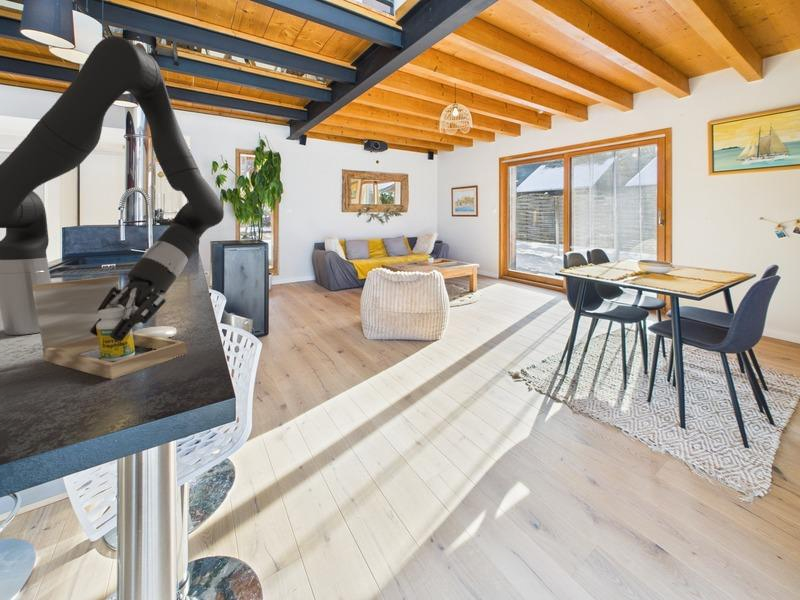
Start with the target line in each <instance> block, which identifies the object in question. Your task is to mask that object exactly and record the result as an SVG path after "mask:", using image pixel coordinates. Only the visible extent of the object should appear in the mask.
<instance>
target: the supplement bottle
mask: <svg viewBox="0 0 800 600" xmlns="http://www.w3.org/2000/svg"><path fill="white" fill-rule="evenodd" d="M98 313H99V317H100V319H101V321H99V322H98V323H97V325H96V330H97V336H98V342H99V348H98V349H99V354H100V359H101V360H105V361H109V362H116V361H120V360H123V359H126V358H130V357H133V356H135V354H136V351H135V350H136V349H135V345H134V341H133V334H132V332H133V330H132V329H133V328H132V329H131V330H130V331H129V333H128V334H127V335H126V337H125V338H124V339H123V340H122V341H117V340H115V339H113V338H111V337H110V334H111V332H112V331H113V330H114V328H115V327H116V326H117V325H118V323H119V322H120V321H121V319H124V316H125V309H124V308H108V309H103V310H100V311H98ZM124 320H125V319H124Z"/></svg>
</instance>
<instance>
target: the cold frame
mask: <svg viewBox="0 0 800 600" xmlns="http://www.w3.org/2000/svg"><path fill="white" fill-rule="evenodd" d="M31 286H32V291H33V295H34V301H35V306H36V312H37V318H38V323H39V329H40V332H39V334H40V340H41V343H42V345H41V346H42V354H43V358H44V362H47V363H51V364H53V365H59V366H61V367H66V368H69V369H73V370H76V371H80V372H83V373H87V374H90V375H94V376H98V377H103V378H105V379H109V380H115V379H118V378H121V377H123V376H126V375H129V374H132V373H135V372H138V371H142V370H144V369H147V368H150V367H153V366H156V365H159V364H162V363H164V362H167V361H171V360H173V358H174V359H177V358H179V357H182V356H185V355H187V354H188V350H187V342H186V341H181V340H176V339H172V338H169V339H167V338H162V337H156V336H151V335H146V334H141V333H136V332H133V331H132V334H133V341H134V346H135V347H136V346H137V347H140V348H146V349H150V348H152V349H151V350H150V351H147V352H143V353H140V354H136V355H134V356H132V357H130V358H126V359H123V360H120V361H112V362H109V361H105V360H102V359H101V358H100V359H99V358H96V357H92V356H88V355H84V354H83V353H86V352H90V351H94V350H98V349H99V342H98V336H95V335H94V334H92V333H90V330H91V328H92V327H93V326H94V325H95V324H96V322H97V321H98V320H99V319H100V317H99V313H98V308H99V307H100V305H101V304H102V302H103V301H104V299H105V298H106V296H107V295H108V293H109V292H110V290H111V289H112V288H113V287H116V288H118V289H120V288H119V278H118V276H116V275H115V276H105V277H104V276H103V277H95V278H93V277H92V278H85V279H77V280H68V281H58V282H56V281H55V282H51V283H47V284H38V285H31ZM108 306H109V304H108V305H107V307H108ZM120 306H121V307H122V305H121V304H120ZM107 307H106V308H107ZM154 349H156V350H154ZM184 354H185V355H184ZM181 355H182V356H181ZM178 356H179V357H178ZM176 357H177V358H176Z"/></svg>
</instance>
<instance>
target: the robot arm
mask: <svg viewBox="0 0 800 600" xmlns="http://www.w3.org/2000/svg"><path fill="white" fill-rule="evenodd" d="M126 92H128V93H130V94H131V95H132V97H133V99H135V101H136V102H137V104H138V106H139V107H140V109H141V110H142V112H143V114H144V117H145V118H146V121H147V124H148V126H149V131H150V132H149V133H150V138H151V144H152V147H153V148H152V149H153V151H154V155H155V157H156V160H157V162H158V164H159V166H160V168H161V170H162V173H163V174H164V177H166V180H167V183H168V184H169V186H170V187H171V188H172V189H173V190H174V191H177V192H182V194H183V195H184V197H185V198H186V199H187V203H185V204H184V205H183V206H182V207H181V208H180V209H179V211H178V212H177V213H176V215H175V216H174V218H173V220H172V222H171V223H170V224H169V227H167V228H166V229H165V231H164V232H163V233H162V234H161V236H159V238H158V239H157V240H156V241H155V242H154V243H153V244H152V245H151V246H150V247H148V249H147V250H146V251H145V252H144V254H143V255H142V256H141V257H140V258H139V259H138V260H137V262H136V263H135V264H134V265H133V267H132V268H131V269H130V270H129V271H128V273H127V277H128V279H129V282H128V283H127V284H126V285H125V286H124V287H123V288H121V289H120V288H119V289H118V288H116V287H113V288H112V289H111V290H110V292H109V293H108V295H107V296H106V298H105V299H104V301H103V302H102V304H101V305H100V307H99V308H98V311H100V310H103V309H108V308H124V309H125V316H124V319H125V320H124V319H121V321H120V322H119V323H118V325H117V326H116V327H115V328H114V330H113V331H112V332H111V334H110V337H111V338H113V339H115V340H117V341H122V340H123V339H124V338H125V337H126V335H127V334H128V333H129V331H130V330H131V329H133V327H134V326H138V325H139V324H140V323H141V324H143V325H144V324H146V323H147V322H148V321H149V320H150V319H151V318H152V317H153V316H154V315H155V314H156V312H158V310H160V309H161V307H162V306H163V305H165V303H166V301H167V300H166V298H164V297H163V296H162V295H166V293H167V292H168V290H169V289H170V288H171V286H172V285H173V284H174V283H175V281H176V280H177V278H178V277H179V276H180V274H181V273H182V272H183V270H184V268H186V267H185V266H186V265H187V263H188V262H189V260H190V258H192V257H193V255H194V253H195V252H196V251H197V250H198V248H199V246H200V238H201V237H202V236H203V234H204V233H205V232H206V231H208V229H210V228H213V227H215V226H217V225H218V224H220V223H221V222H222V221H223V219H224V215H225V211H224V205H223V203H222V201H221V199H220V197H218V195H217V194H216V192H215V191H214V189H213V188H212V187H211V186H210V184H209V183H208V182H207V180H206V179H205V178H204V177H203V176H202V173H201V172H200V169H199V167H198V165H197V163H196V161H195V158H194V156H193V154H192V152H191V151H190V148H189V146H188V144H187V142H186V139H185V137H184V135H183V132H182V130H181V127H180V125H179V123H178V119H177V117H176V115H175V112H174V108H173V106H172V102H171V100H170V96H169V94H168V90H167V87H166V83H165V80H164V76H163V74H162V71H161V68H160V66H159V63H158V62H157V61H156V60H155V58H154V57H153V56H151V54H149V53H148V52H147V51H145V50H144V49H143V48H141V47H139V46H137V45H136V44H134V43H133V42H131V41H129V40H128V39H126V38H124V37H121V36H114V35H113V36H107V37H105V38H102V40H100V41H99V42H98V43H97V44H95V47H94V48H93V49H92V51H91V52H90V54H89V55H88V57H87V58H86V60H85V62H84V63H83V65H82V66H81V68H80V69H79V71H78V73H77V75H76V76H75V78H74V79H73V80H72V82H71V83H70V84H69V85H68V87H67V88H66V89H65V90H64V91H63V92H62V94H61V95H60V96H59V98H58V99H57V100H56V101H55V103H54V104H53V105H52V106H51V108H50V109H48V111H46V112H45V114H43V116H42V117H41V118H40V119H39V120H38V121H37V123H36V124H35V125H34V126H33V127H32V128H31V130H30V131H29V133H28V134H27V135H26V136H25V137H24V139H23V140H22V141H21V142H20V143H19V144H18V145H17V147H15V149H13V151H12V152H11V153H10V154H9V155H8V157H6V159H4V160H3V162H1V164H0V229H5V236H4V237H3V238H2V239H1V240H0V316H1V320H2V321H1V322H2V326H3V327H2V328H3V332H4V334H5V335H10V336H12V335H13V336H14V335H15V336H20V335H21V336H22V335H30V334H32V335H33V334H37V333H38V334H39V333H40V329H39V323H38V318H37V312H36V306H35V301H34V295H33V291H32V286H31V285H38V284H47V283H52V278H51V274H50V268H49V267H50V266H49V263H48V257H47V256H48V255H47V249H48V248H49V231H48V229H49V228H48V219H47V213H46V209H45V205H44V202H43V201H42V199H41V197H40V195H39V194H37V193H36V192H35V191H34V190H35V189H37V188H38V187H40V186H41V185H44V184H46V183H47V182H49V181H52V180H54V179H56V178H59V177H61V176H63V175H64V174H67V173H69V172H70V171H72V170H74V169H76V168H77V167H79V166H80V165H81V164H82V163H84V161H85V160H86V159H87V158H88V156H89V155H90V154H91V153H92V152H93V151H94V150H95V148H96V147H97V146H98V144H99V142H100V139H101V135H102V132H103V131H102V130H103V123H104V118H105V116H106V115H107V114H106V113H107V112H108V110H109V109H110V108H111V106H112V105H113V104H114V103H115V102H116V101H117V100H118V99H119V98H120V97H121V96H123V94H124V93H126ZM108 304H109V306H108V307H107V305H108ZM120 304H121V306H120ZM106 307H107V308H106ZM99 321H101V319H99V320H98V321H97V322H96V324H95V325H94V326H93V327H92V328H91V330H90V333H92V334H94V335H95V336H97V330H96V325H97V323H98V322H99Z"/></svg>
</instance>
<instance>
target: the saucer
mask: <svg viewBox="0 0 800 600" xmlns="http://www.w3.org/2000/svg"><path fill="white" fill-rule="evenodd" d="M132 332H136V333H141V334H146V335H151V336H156V337H162V338H168V337H172V336H174V335H175V334H176V333H177V328H176V327H174V326H171V325H170V326H168V325H167V326H165V325H164V326H163V325H162V326H158V325H157V326H152V327H145V328H139V329H136V330H132ZM177 334H178V333H177ZM174 337H175V336H174ZM172 338H173V337H172Z"/></svg>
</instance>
